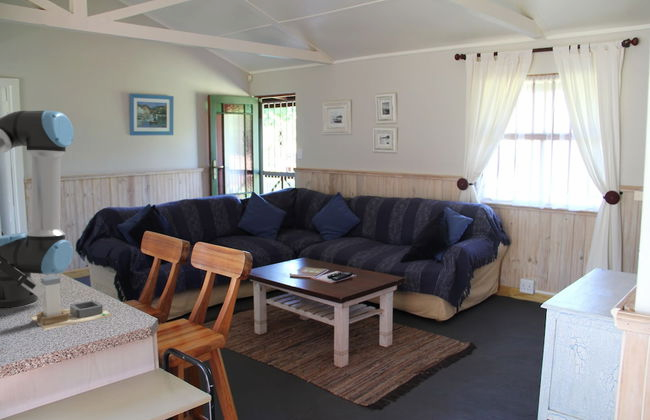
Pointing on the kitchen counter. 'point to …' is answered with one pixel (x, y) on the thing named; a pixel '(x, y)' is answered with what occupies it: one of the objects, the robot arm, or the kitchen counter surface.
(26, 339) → the kitchen counter surface
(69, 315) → the board
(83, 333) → the kitchen counter surface
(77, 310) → the port
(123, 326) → the kitchen counter surface
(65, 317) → the holster
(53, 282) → the plug
